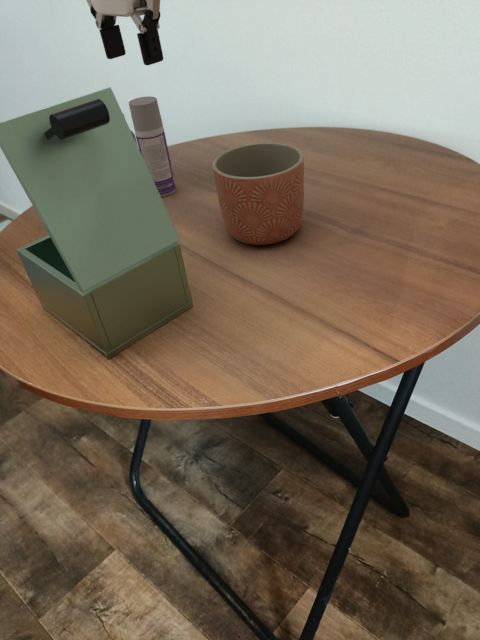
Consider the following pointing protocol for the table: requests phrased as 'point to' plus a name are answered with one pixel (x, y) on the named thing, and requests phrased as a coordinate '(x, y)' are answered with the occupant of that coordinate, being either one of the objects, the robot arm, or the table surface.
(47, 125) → the green box lid
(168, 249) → the box base
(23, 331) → the table surface
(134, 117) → the container
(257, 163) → the planter
